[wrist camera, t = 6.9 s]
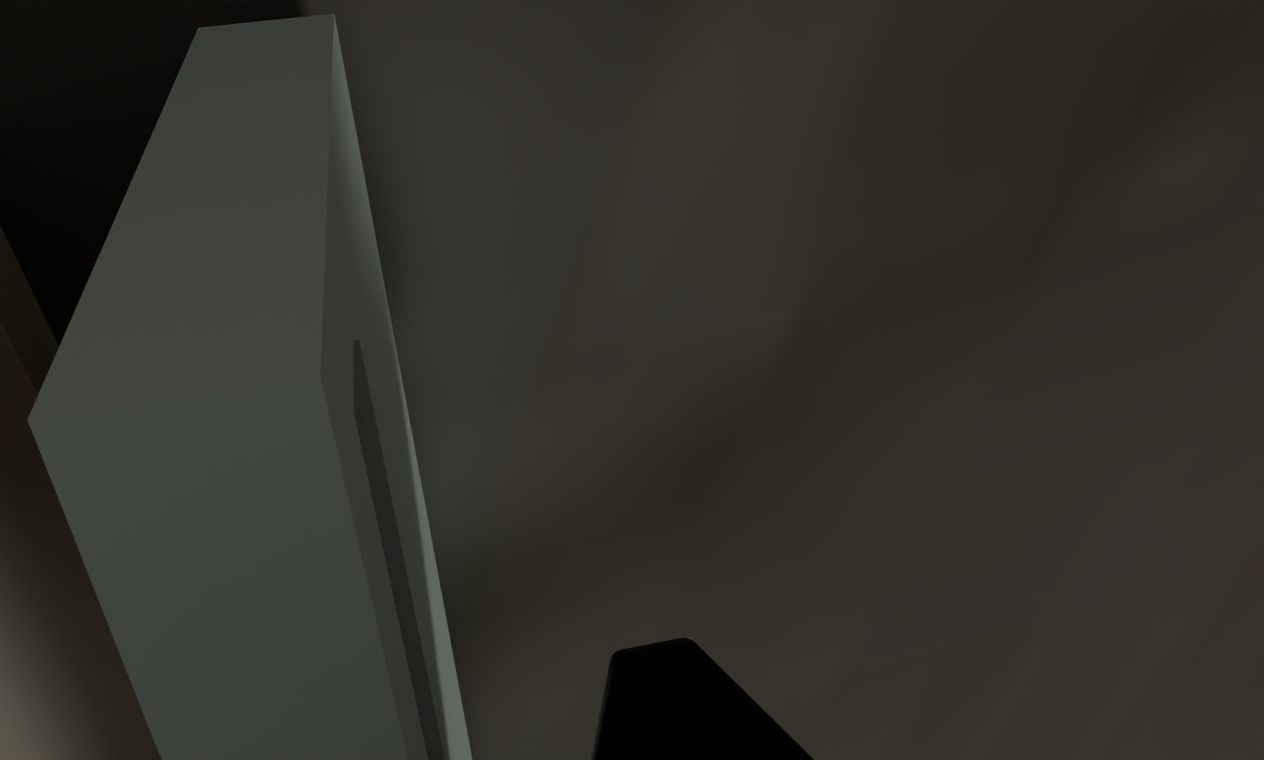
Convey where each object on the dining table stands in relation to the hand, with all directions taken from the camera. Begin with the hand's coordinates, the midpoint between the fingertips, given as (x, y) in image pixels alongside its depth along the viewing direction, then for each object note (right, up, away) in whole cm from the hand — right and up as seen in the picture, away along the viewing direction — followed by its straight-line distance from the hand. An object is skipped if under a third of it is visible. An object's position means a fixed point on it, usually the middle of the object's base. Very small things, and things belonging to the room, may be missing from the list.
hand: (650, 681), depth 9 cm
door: (-3, -1, +4) cm, 5 cm away
